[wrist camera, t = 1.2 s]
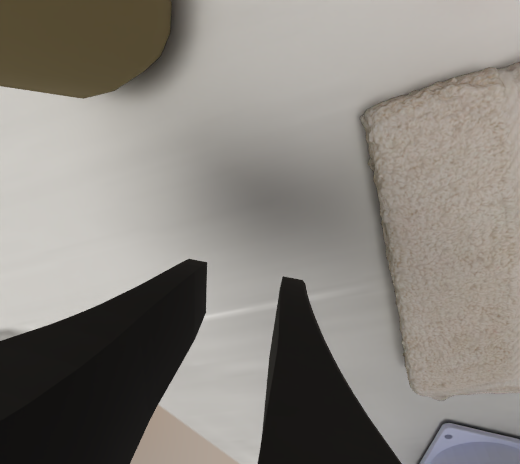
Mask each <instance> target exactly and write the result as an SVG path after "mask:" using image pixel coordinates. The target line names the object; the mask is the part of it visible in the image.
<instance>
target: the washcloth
mask: <svg viewBox="0 0 520 464" xmlns="http://www.w3.org/2000/svg"><path fill="white" fill-rule="evenodd" d="M360 119H361V122H362V125H363V126H364V127H365V131H366V141H367V143H368V144H369V148H368V152H369V154H370V158H371V159H370V160H369V162H368V165H369V166H370V165H371V166H370V167H371V169H372V170H373V171H374V177H373V181H374V183H375V185H376V187H377V193H378V198H379V202H380V216H381V217H382V219H383V220H382V222H381V225H382V226H383V235H384V240H385V244H386V246H387V249H386V256H387V257H386V258H387V260H388V261H389V266H388V268H389V270H390V272H391V275H392V282H393V283H394V284H393V285H394V287H395V291H394V292H395V293H396V305H397V306H398V313H399V317H400V321H399V322H400V331H401V332H402V339H403V341H402V344H403V348H404V353H403V356H405V367H406V369H407V374H408V380H409V384H410V387H411V388H412V390H413V391H414V392H415V393H417V394H419V395H421V396H430V397H432V398H433V399H436V400H439V401H444V400H446V399H447V398H449V397H452V396H455V395H470V394H478V393H494V394H500V393H502V394H504V393H520V62H518V63H515V64H513V65H511V66H509V67H507V68H502V69H496V68H492V67H489V68H486V69H484V70H481V71H478V72H473V73H469V74H466V75H461V76H458V77H455V78H451V79H449V80H447V81H445V82H436V83H435V84H433V85H432V86H429V87H426V88H424V89H422V90H419V91H416V90H415V91H412V92H411V93H410V94H409V95H407V96H405V95H401V96H399V97H397V98H392V99H390V100H388V101H386V102H381V103H379V104H377V105H375V106H373V107H372V108H369V109H368V110H366V112H365V113H364V116H362V117H360Z"/></svg>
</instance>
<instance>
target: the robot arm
mask: <svg viewBox="0 0 520 464" xmlns="http://www.w3.org/2000/svg"><path fill="white" fill-rule="evenodd" d="M206 282H207V262H203V261H197V260H192V259H188V260H186V261H184V262H182V263H180V264H178V265H176V266H174V267H172V268H171V269H169V270H167V271H165V272H163V273H162V274H160V275H158V276H156V277H154V278H152V279H150V280H148V281H147V282H145V283H143V284H141V285H139V286H137V287H135V288H133V289H131V290H129V291H127V292H125V293H123V294H121V295H119V296H117V297H115V298H113V299H110V300H108V301H106V302H104V303H102V304H100V305H98V306H95V307H93V308H91V309H88V310H86V311H84V312H81V313H79V314H76V315H74V316H71V317H69V318H66V319H64V320H61V321H58V322H56V323H53V324H50V325H48V326H44V327H41V328H38V329H35V330H32V331H29V332H26V333H23V334H20V335H17V336H14V337H11V338H8V339H5V340H2V341H0V464H130V462H131V460H132V458H133V456H134V453H135V451H136V449H137V446H138V445H139V442H140V440H141V438H142V436H143V434H144V431H145V429H146V427H147V425H148V423H149V421H150V418H151V417H152V415H153V413H154V411H155V409H156V407H157V405H158V403H159V402H160V400H161V398H162V396H163V395H164V393H165V391H166V389H167V388H168V386H169V384H170V382H171V381H172V379H173V377H174V375H175V374H176V372H177V370H178V368H179V367H180V365H181V363H182V361H183V360H184V358H185V356H186V354H187V352H188V351H189V349H190V347H191V345H192V343H193V342H194V340H195V337H196V335H197V333H198V330H199V328H200V326H201V323H202V321H203V318H204V316H205V313H206ZM258 464H402V463H401V462H400V461H399V459H398V458H397V456H396V455H395V454H394V452H393V451H392V449H391V448H390V447H389V445H388V444H387V442H386V441H385V440H384V438H383V437H382V435H381V434H380V433H379V431H378V430H377V428H376V427H375V426H374V424H373V423H372V421H371V420H370V418H369V417H368V415H367V414H366V412H365V411H364V409H363V408H362V406H361V405H360V403H359V401H358V400H357V398H356V397H355V395H354V394H353V392H352V390H351V388H350V387H349V385H348V383H347V382H346V380H345V378H344V377H343V375H342V373H341V371H340V369H339V368H338V366H337V364H336V362H335V360H334V358H333V356H332V354H331V352H330V350H329V348H328V346H327V344H326V342H325V340H324V337H323V335H322V333H321V331H320V328H319V326H318V323H317V321H316V318H315V316H314V313H313V310H312V307H311V304H310V301H309V298H308V295H307V290H306V285H305V283H304V281H303V280H299V279H293V278H288V277H283V278H282V282H281V287H280V292H279V299H278V305H277V311H276V318H275V324H274V331H273V337H272V344H271V350H270V357H269V367H268V378H267V389H266V400H265V411H264V422H263V433H262V441H261V448H260V454H259V459H258ZM420 464H520V439H516V438H512V437H508V436H504V435H499V434H495V433H491V432H487V431H482V430H478V429H474V428H469V427H465V426H461V425H457V424H452V423H445V424H443V425H442V427H441V428H440V430H439V432H438V433H437V435H436V437H435V438H434V440H433V442H432V443H431V445H430V447H429V448H428V450H427V452H426V454H425V455H424V457H423V459H422V460H421V462H420Z"/></svg>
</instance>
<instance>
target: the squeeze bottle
mask: <svg viewBox="0 0 520 464" xmlns="http://www.w3.org/2000/svg"><path fill="white" fill-rule="evenodd" d="M171 7H172V3H171V0H0V86H4V87H10V88H17V89H23V90H30V91H37V92H43V93H50V94H57V95H63V96H70V97H76V98H83V99H84V98H88V97H92V96H96V95H100V94H104V93H107V92H111V91H115V90H116V89H118V88H119V87H121V86H122V85H124V84H125V83H127V82H128V81H130V80H131V79H133V78H135V77H136V76H138V75H139V74H141V73H142V72H144V71H145V70H146V69H147V68H148V67H149V66H150V65H152V64H153V63H154V62H155V61H156V60H157V59H158V58H159V57H160V56H161V54H162V51H163V49H164V46H165V44H166V42H167V39H168V37H169V34H170V25H171Z"/></svg>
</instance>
